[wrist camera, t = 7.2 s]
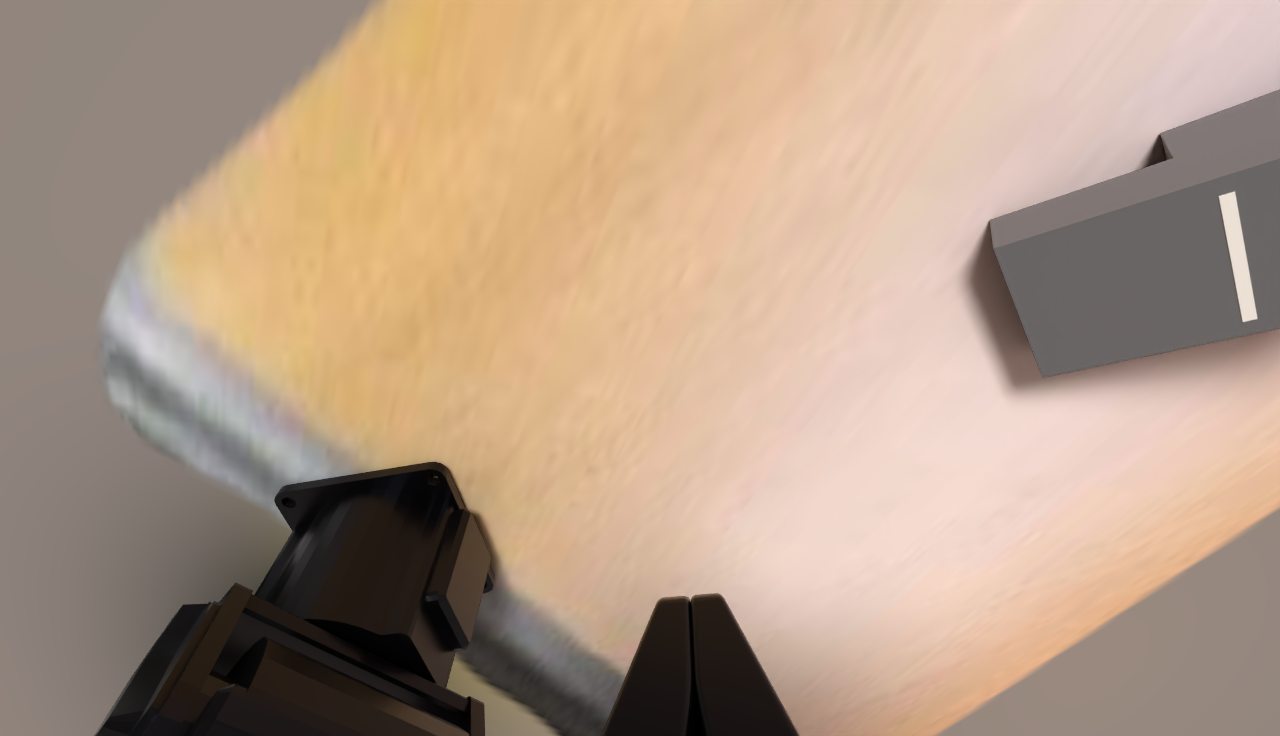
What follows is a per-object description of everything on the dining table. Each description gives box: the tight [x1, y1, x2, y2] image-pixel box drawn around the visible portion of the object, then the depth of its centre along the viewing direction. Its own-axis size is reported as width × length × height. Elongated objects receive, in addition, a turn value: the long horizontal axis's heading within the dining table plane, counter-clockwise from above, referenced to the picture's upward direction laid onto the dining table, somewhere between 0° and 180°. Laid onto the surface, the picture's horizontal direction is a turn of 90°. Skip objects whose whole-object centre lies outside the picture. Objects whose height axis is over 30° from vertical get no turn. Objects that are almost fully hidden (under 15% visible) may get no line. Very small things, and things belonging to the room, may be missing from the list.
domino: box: [990, 122, 1280, 378], centre depth 18 cm, size 2×5×10 cm
